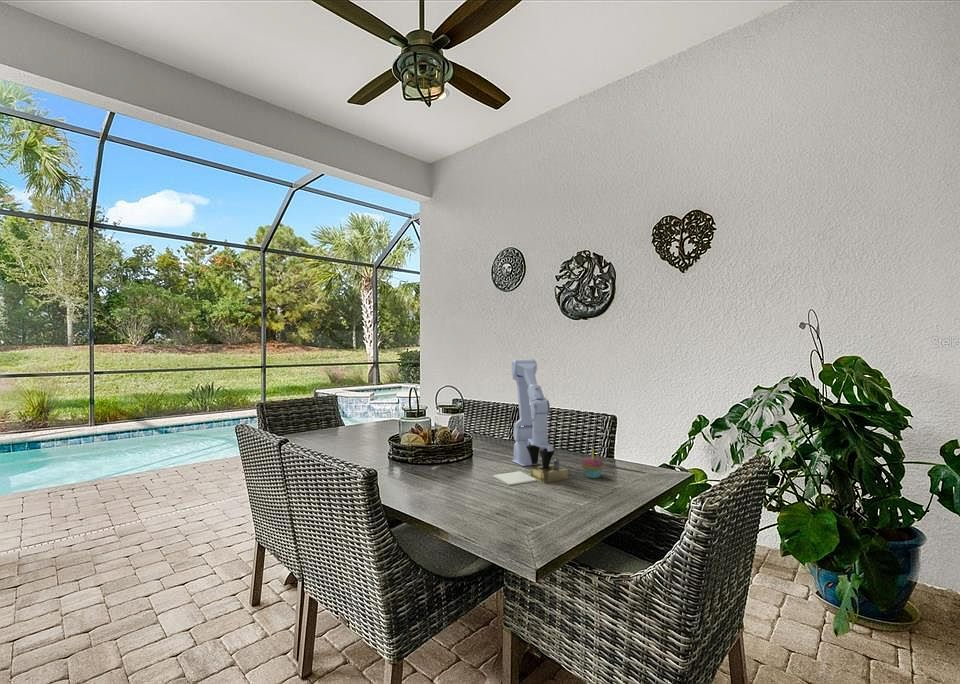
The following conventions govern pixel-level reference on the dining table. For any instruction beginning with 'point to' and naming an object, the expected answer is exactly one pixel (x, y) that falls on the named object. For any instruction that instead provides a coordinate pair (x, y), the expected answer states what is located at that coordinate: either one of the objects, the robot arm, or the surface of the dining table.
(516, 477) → the coaster
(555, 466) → the post
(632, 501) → the dining table surface
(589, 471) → the cupcake
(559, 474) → the c link
